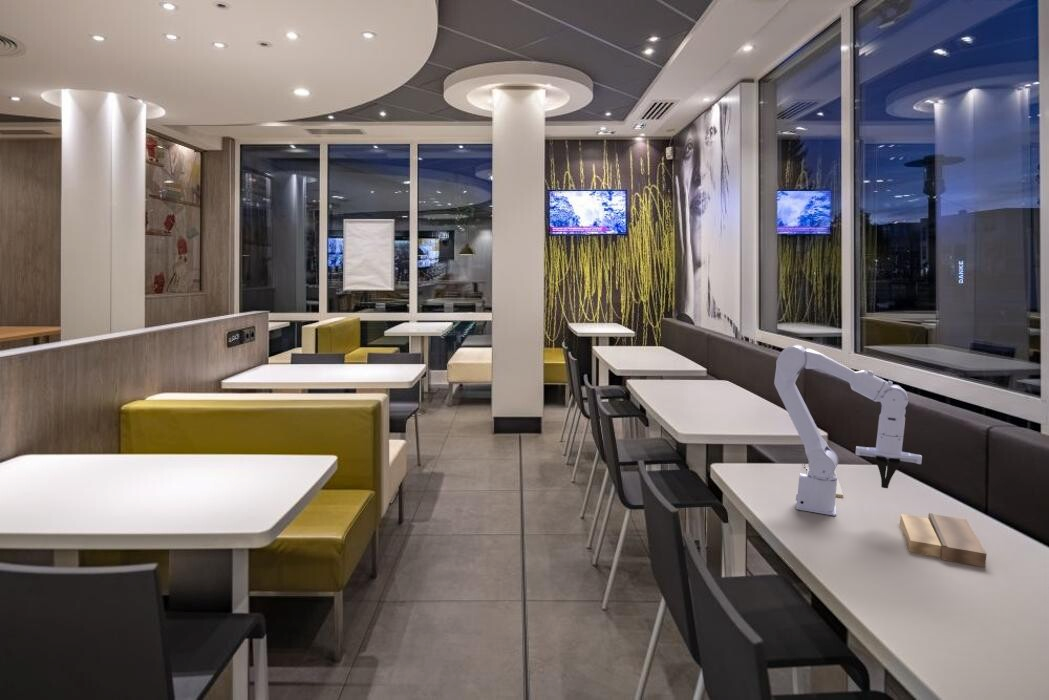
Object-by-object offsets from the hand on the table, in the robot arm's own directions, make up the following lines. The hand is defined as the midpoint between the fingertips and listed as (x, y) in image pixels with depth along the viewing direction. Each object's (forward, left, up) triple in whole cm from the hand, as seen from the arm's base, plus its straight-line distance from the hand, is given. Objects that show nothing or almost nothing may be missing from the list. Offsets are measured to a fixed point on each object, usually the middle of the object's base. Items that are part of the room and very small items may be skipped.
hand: (884, 487), depth 170 cm
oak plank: (+7, -9, -9) cm, 15 cm away
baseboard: (-14, +31, -10) cm, 36 cm away
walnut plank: (+15, -9, -9) cm, 19 cm away
